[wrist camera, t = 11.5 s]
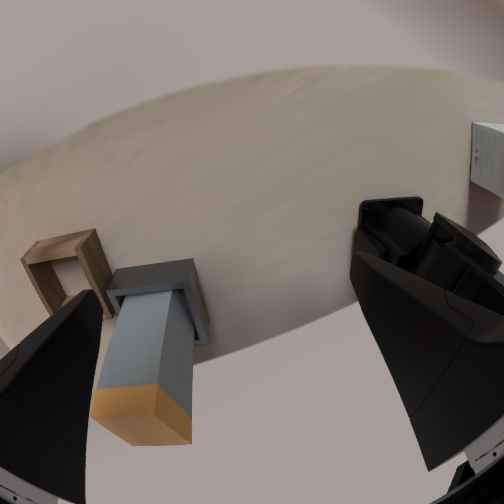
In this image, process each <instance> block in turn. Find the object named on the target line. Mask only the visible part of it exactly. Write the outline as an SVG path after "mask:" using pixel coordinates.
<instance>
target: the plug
mask: <svg viewBox="0 0 504 504" xmlns="http://www.w3.org/2000/svg"><path fill="white" fill-rule="evenodd" d="M194 332H195V323H194V320H193V317H192V314H191V311H190V308H189V305H188V301H187V298H186V295H185V291H184V288H182V289H174V290H166V291H157V292H148V293H139V294H130V295H126V296H125V299H124V302H123V305H122V307H121V310H120V313H119V316H118V319H117V322H116V325H115V328H114V331H113V334H112V337H111V340H110V343H109V346H108V349H107V353H106V356H105V359H104V363H103V366H102V370H101V373H100V377H99V381H98V384H97V388H96V392H95V396H94V400H93V404H92V409H91V413H90V417H91V418H92V419H94V420H95V421H97V422H98V423H99V424H101V425H102V426H103V427H105V428H106V429H108V430H109V431H111V432H112V433H114V434H115V435H117V436H118V437H120V438H121V439H123V440H124V441H126V442H127V443H129V444H131V445H132V446H164V445H185V444H192V378H193V377H192V376H193V352H194Z"/></svg>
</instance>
